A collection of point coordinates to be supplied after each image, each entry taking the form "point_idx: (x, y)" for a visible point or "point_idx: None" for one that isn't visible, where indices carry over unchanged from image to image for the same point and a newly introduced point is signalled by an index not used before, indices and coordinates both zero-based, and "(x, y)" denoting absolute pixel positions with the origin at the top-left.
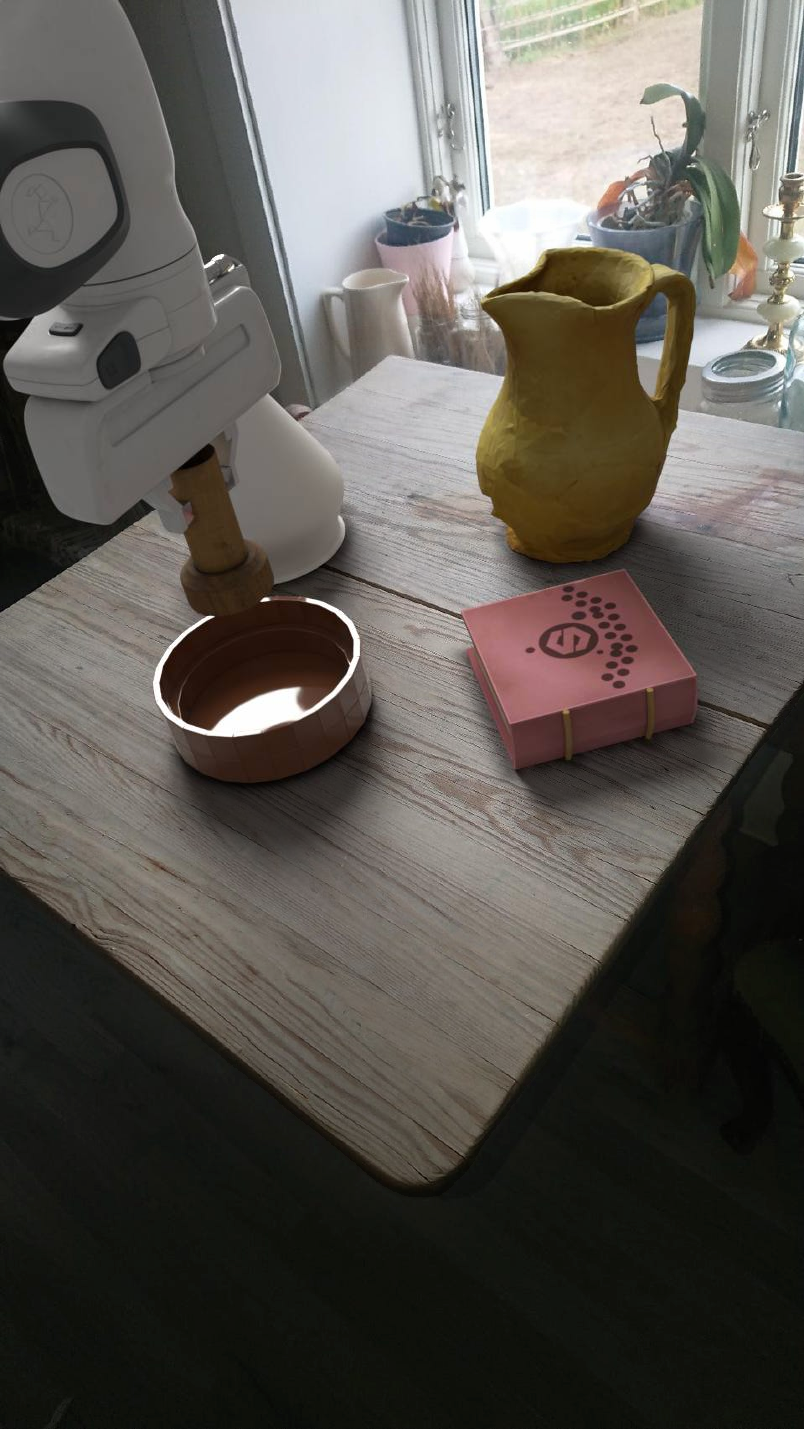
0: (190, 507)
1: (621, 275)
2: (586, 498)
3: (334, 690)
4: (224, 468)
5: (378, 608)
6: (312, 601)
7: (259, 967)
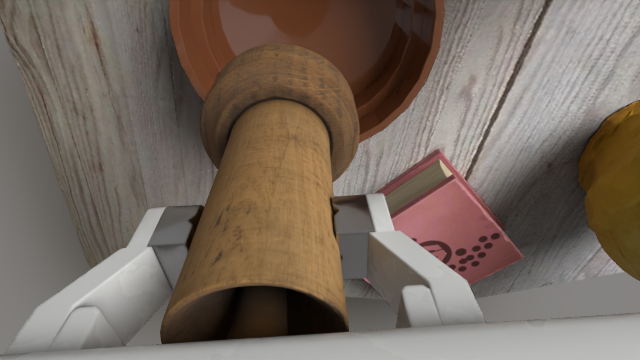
0: None
1: None
2: (607, 248)
3: None
4: (357, 273)
5: (503, 29)
6: (436, 36)
7: (105, 169)
